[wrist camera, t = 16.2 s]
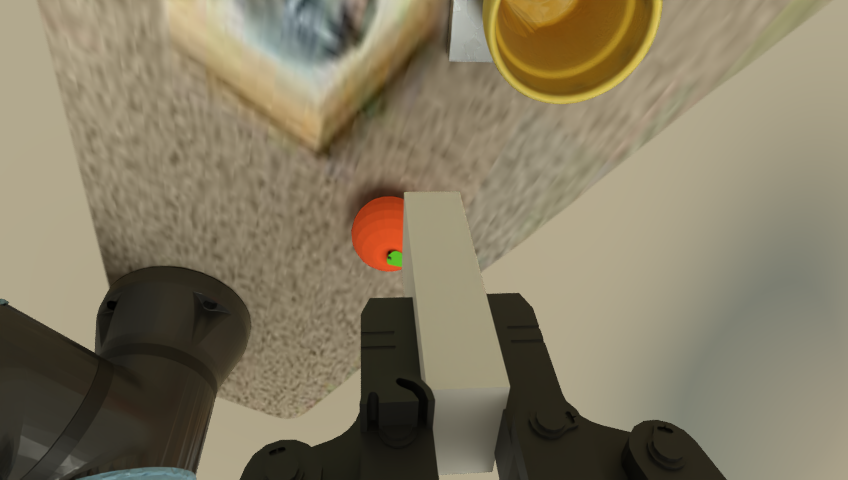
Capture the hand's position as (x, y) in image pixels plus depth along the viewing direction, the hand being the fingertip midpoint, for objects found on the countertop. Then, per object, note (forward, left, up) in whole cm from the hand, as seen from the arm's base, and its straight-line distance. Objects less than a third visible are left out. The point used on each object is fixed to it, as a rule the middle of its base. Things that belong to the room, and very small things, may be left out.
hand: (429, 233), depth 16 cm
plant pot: (0, -10, -31) cm, 33 cm away
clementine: (-23, 0, -33) cm, 40 cm away
